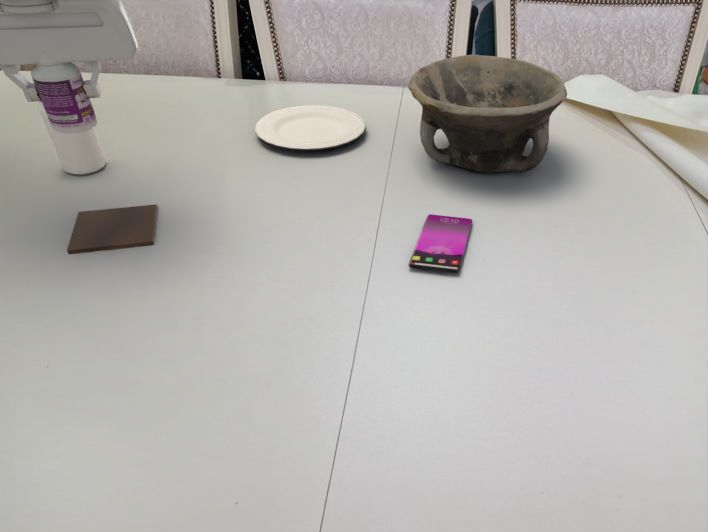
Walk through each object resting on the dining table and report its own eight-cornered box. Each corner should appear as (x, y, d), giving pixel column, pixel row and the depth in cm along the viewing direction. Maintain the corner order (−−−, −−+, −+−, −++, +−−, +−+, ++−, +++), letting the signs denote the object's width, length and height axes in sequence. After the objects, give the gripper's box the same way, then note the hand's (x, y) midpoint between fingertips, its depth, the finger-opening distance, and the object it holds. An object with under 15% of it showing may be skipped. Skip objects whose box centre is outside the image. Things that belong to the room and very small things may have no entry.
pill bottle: (98, 132, 80) (70, 53, 73) (51, 136, 78) (18, 56, 72) (98, 116, 83) (71, 39, 77) (54, 120, 82) (23, 42, 75)
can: (65, 161, 106) (36, 90, 98) (107, 157, 108) (82, 87, 100) (62, 178, 102) (31, 105, 94) (105, 173, 103) (79, 101, 95)
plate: (347, 163, 111) (347, 153, 109) (237, 150, 112) (235, 140, 111) (378, 120, 126) (377, 110, 125) (280, 109, 128) (279, 100, 127)
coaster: (68, 254, 86) (66, 250, 85) (79, 215, 93) (78, 211, 93) (153, 244, 88) (152, 241, 88) (157, 207, 96) (156, 204, 96)
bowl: (407, 194, 103) (405, 104, 93) (412, 130, 123) (411, 50, 113) (564, 198, 105) (579, 110, 95) (544, 135, 125) (555, 56, 115)
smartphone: (407, 269, 87) (407, 264, 86) (427, 217, 98) (427, 212, 97) (458, 276, 86) (458, 270, 85) (472, 222, 97) (472, 217, 97)
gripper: (-101, -19, 64) (-36, 113, 73) (115, -22, 70) (150, 101, 79) (-84, -32, 68) (-24, 95, 78) (118, -34, 74) (152, 84, 83)
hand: (65, 98), depth 78 cm, fingers closed on pill bottle, 5 cm apart
